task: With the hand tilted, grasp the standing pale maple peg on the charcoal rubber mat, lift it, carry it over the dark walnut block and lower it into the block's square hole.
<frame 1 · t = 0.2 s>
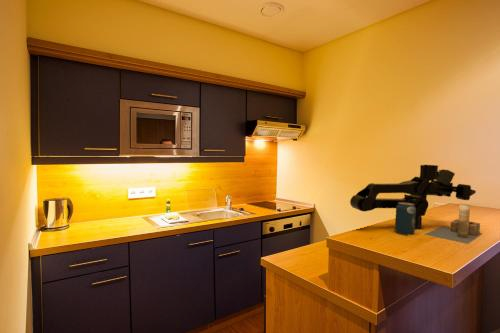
hand: (465, 190, 126), 17 cm above the table, fingers open, 9 cm apart
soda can: (404, 233, 115), on the table
hole block: (464, 232, 117), resting on mat
mat: (453, 234, 114), on the table
peg: (462, 236, 110), resting on mat
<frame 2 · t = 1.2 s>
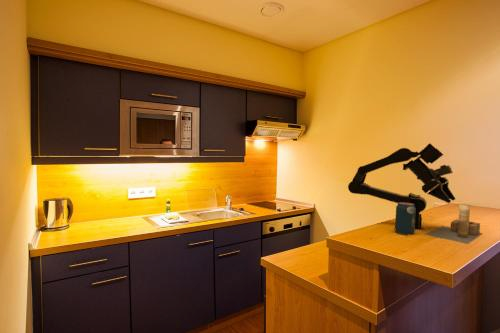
hand: (452, 201, 113), 14 cm above the table, fingers open, 9 cm apart
nothing on the table moved.
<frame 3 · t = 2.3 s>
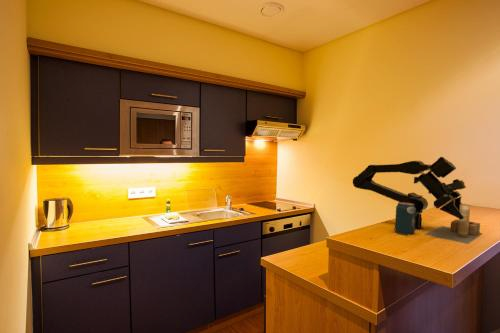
hand: (465, 217, 109), 8 cm above the table, fingers open, 9 cm apart
nothing on the table moved.
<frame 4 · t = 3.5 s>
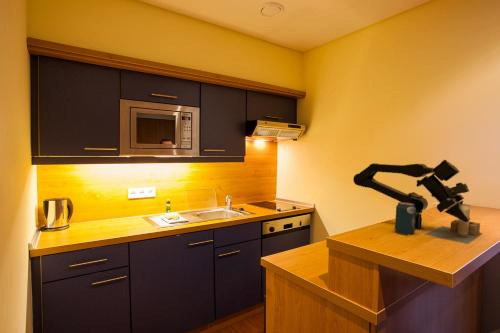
hand: (468, 220, 109), 7 cm above the table, fingers closed on peg, 3 cm apart
peg: (462, 236, 110), resting on mat, touching gripper
everything else where it was.
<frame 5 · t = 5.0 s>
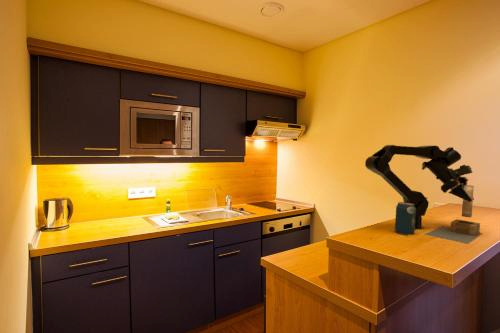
hand: (472, 200, 114), 14 cm above the table, fingers closed on peg, 3 cm apart
peg: (466, 216, 115), point 7 cm above the table, touching gripper
everything else where it was.
when the fingers open (8 cm above the table, at t = 6.7 s): peg stays where it is, resting on mat.
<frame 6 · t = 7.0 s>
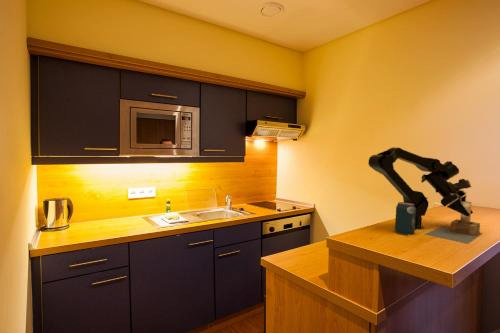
hand: (470, 214, 116), 8 cm above the table, fingers open, 7 cm apart
peg: (464, 232, 117), resting on mat
everything else where it was.
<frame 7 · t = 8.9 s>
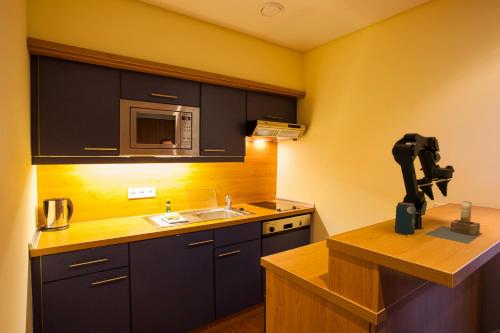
hand: (439, 198, 126), 13 cm above the table, fingers open, 9 cm apart
nothing on the table moved.
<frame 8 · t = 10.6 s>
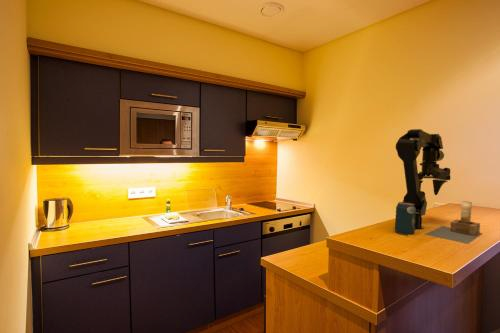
hand: (427, 194, 133), 13 cm above the table, fingers open, 9 cm apart
nothing on the table moved.
at the end: peg 0.1 cm off-centre on the hole block, point 0.0 cm above the hole block's base; peg tilted 0°; the gripper is holding nothing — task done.
